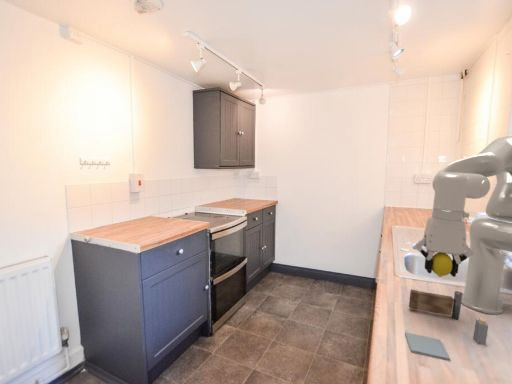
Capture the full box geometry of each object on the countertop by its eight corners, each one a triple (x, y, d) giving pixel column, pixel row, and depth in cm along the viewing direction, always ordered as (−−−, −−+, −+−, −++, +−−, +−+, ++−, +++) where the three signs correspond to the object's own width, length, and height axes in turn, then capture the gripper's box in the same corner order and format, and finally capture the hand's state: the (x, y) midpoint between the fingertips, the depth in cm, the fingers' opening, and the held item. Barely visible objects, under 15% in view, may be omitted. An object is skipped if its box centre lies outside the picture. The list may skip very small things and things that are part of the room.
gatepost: (457, 317, 90) (461, 291, 89) (459, 320, 88) (463, 294, 87) (450, 316, 90) (453, 290, 89) (452, 319, 89) (456, 293, 87)
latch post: (481, 340, 78) (484, 318, 78) (485, 345, 76) (488, 323, 75) (473, 338, 79) (476, 316, 78) (476, 343, 77) (480, 321, 76)
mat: (440, 341, 77) (440, 339, 77) (450, 360, 70) (450, 358, 70) (404, 334, 80) (405, 332, 80) (410, 351, 73) (411, 349, 72)
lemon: (430, 271, 87) (433, 247, 86) (451, 276, 84) (454, 251, 82) (427, 277, 83) (430, 251, 82) (450, 282, 79) (453, 256, 78)
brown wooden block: (449, 313, 90) (451, 296, 90) (451, 316, 89) (453, 299, 88) (408, 305, 94) (410, 289, 93) (410, 308, 92) (412, 292, 92)
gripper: (476, 215, 82) (468, 273, 84) (412, 210, 87) (406, 264, 89) (488, 220, 74) (479, 283, 77) (417, 214, 80) (411, 273, 82)
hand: (440, 272), depth 83 cm, fingers closed on lemon, 5 cm apart
